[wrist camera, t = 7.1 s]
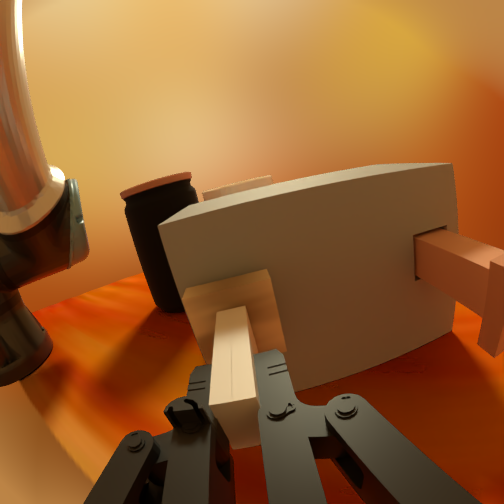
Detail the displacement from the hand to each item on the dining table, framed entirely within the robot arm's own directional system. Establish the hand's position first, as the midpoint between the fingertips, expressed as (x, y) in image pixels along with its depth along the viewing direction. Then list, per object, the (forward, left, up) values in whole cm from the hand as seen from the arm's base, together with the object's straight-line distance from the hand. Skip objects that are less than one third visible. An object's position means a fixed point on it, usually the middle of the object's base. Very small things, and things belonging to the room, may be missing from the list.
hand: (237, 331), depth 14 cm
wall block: (+7, +8, -8) cm, 13 cm away
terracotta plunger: (+14, 0, -2) cm, 14 cm away
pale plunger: (0, +7, -2) cm, 7 cm away
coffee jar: (-9, +26, -8) cm, 29 cm away
